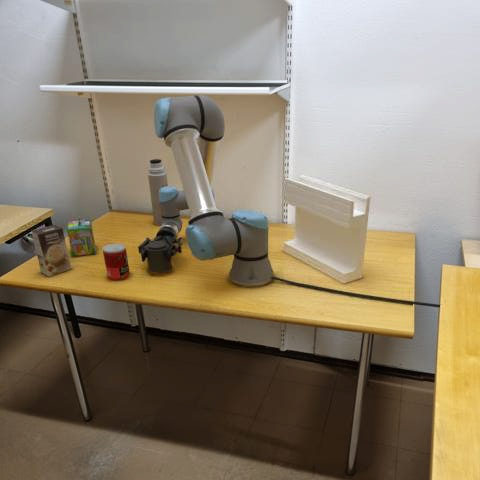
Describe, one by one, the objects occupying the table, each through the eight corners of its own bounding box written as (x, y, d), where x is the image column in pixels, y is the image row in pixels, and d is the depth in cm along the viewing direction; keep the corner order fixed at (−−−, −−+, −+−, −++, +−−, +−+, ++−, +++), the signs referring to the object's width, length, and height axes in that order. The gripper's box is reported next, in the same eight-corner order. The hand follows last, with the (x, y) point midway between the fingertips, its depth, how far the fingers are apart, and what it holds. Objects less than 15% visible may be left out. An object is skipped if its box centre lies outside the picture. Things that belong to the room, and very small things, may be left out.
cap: (177, 268, 173) (174, 243, 168) (156, 275, 168) (153, 250, 163) (163, 261, 178) (160, 237, 174) (143, 268, 173) (139, 244, 169)
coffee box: (48, 277, 172) (37, 234, 164) (40, 272, 176) (29, 230, 168) (72, 269, 177) (62, 227, 169) (64, 264, 181) (54, 223, 173)
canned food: (125, 281, 167) (120, 252, 161) (103, 280, 168) (98, 250, 163) (133, 272, 173) (129, 243, 168) (113, 271, 175) (108, 242, 169)
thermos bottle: (175, 221, 221) (168, 158, 207) (164, 226, 215) (156, 162, 201) (161, 219, 224) (154, 157, 210) (150, 224, 219) (142, 160, 205)
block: (361, 277, 164) (370, 196, 149) (343, 283, 160) (350, 201, 146) (299, 246, 190) (302, 174, 176) (283, 250, 186) (284, 178, 172)
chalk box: (72, 248, 195) (65, 213, 187) (96, 246, 197) (89, 211, 189) (71, 257, 187) (63, 220, 180) (96, 254, 189) (88, 218, 182)
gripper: (195, 244, 187) (186, 267, 167) (141, 244, 188) (127, 268, 168) (193, 225, 183) (184, 247, 163) (139, 226, 184) (123, 248, 165)
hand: (155, 257), depth 166 cm, fingers closed on cap, 8 cm apart
